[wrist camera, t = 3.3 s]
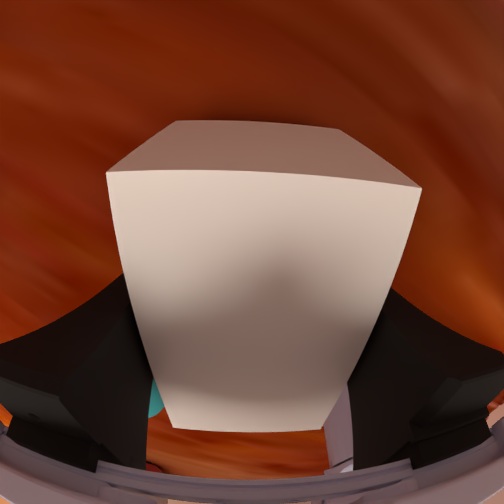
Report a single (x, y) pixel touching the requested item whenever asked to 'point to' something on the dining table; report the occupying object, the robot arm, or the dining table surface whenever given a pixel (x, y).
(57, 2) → the dining table surface
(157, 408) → the ball
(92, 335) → the robot arm
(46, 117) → the dining table surface
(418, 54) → the dining table surface
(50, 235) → the dining table surface
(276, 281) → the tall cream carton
